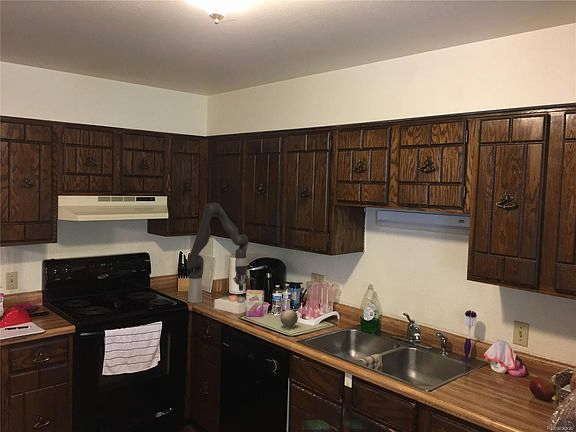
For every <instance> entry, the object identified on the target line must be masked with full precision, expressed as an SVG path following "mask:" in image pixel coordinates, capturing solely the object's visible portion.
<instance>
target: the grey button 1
mask: <svg viewBox="0 0 576 432" xmlns="http://www.w3.org/2000/svg"><path fill="white" fill-rule="evenodd" d="M221 298H222V299H223V300H229V299H230V297H229V296H222V297H221Z"/></svg>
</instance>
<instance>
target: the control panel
mask: <svg viewBox="0 0 576 432" xmlns="http://www.w3.org/2000/svg"><path fill="white" fill-rule="evenodd" d="M230 296H231V295H229V296H228V297H230ZM214 309H215V310H220V311H225V312H229V313H233V314H241V313H246V299H245V303H237V301H235V302H232V301H230V299H229V300H223V299H222V297H221V298H216V299H214Z"/></svg>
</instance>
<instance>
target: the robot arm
mask: <svg viewBox="0 0 576 432" xmlns="http://www.w3.org/2000/svg"><path fill="white" fill-rule="evenodd" d="M213 217H217V218H218V219H219V220H220V221H221V224H222V228H223V229H224V231H225V232H226V233H227V234H228V235H229V237H230V239H231V241H232V243H233V245H235V246H237V247H238V248H237V249H236V250H235V261H234V262H235V263H234V272H235V276H234V277H233V279H232V280H233V281H234V282H235V284H236V285H238V290H239V291H240V292H242V291H243V290H244V285H245V284H247V283H246V282H247V281H248V278H249V275H247V269H248V268H247V264H248V263H247V249H248V245H249V237H248V236H247V235H246V234H239V229H238V227H237V226H236V225H235V224H234V223H233V222H232V220H231V219H230V218H229V217H228V215H227V213H226V212H225V210H224V209H223V207H222V206H221V205H220V204H219V203H217V202H208V203H206V205H204V207H203V211H202V217H201V221H200V224H199V227H198V230H197V232H196V236H195V240H194V242H193V244H192V248H191V251H190V252H189V254H188V255H187V259H186V266H187V268H188V269H189V270H192V272H190V273H189V274H188V288H187V299H188V300H187V302H189V303H192V304H198V303H202V302H203V275H204V267H205V265H204V263H205V262H204V261H205V260H204V258H203V256H202V255H200V253H201V252H202V251H203V249H205V247H206V246H207V245H208V243H209V241H210V238H211V234H212V233H211V232H212V231H211V227H210V223H211V220H212V218H213Z"/></svg>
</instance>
